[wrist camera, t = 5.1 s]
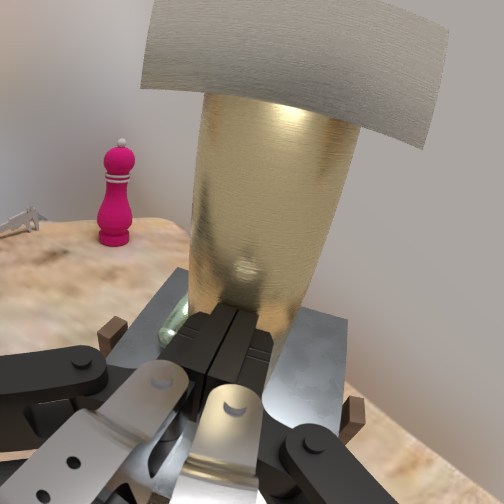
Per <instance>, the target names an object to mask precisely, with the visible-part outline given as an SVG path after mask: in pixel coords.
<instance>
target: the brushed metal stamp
mask: <svg viewBox="0 0 504 504" xmlns="http://www.w3.org/2000/svg"><path fill="white" fill-rule="evenodd" d="M448 36H449V30H448V29H445V28H444V27H442V26H440V25H438V24H435V23H434V22H431V21H429V20H427V19H425V18H423V17H420V16H418V15H416V14H413V13H411V12H409V11H406V10H403V9H401V8H398V7H395V6H393V5H390V4H387V3H384V2H381V1H378V0H155V1H154V5H153V10H152V14H151V19H150V25H149V30H148V36H147V41H146V48H145V54H144V62H143V69H142V77H141V86H140V89H159V90H178V91H192V92H202V93H204V100H203V107H202V114H201V122H200V130H199V139H198V148H197V158H196V168H195V179H194V190H193V203H192V217H191V234H190V253H189V271H188V270H185V269H182V268H179V267H177V268H176V270H175V271H174V272H173V273H172V274H171V276H170V277H169V278H168V279H167V281H166V282H165V283H164V284H163V285H162V287H161V288H160V289H159V290H158V292H157V293H156V294H155V295H154V297H153V298H152V299H151V300H150V302H149V303H148V304H147V305H146V307H145V308H144V309H143V311H142V312H141V313H140V314H139V316H138V317H137V318H136V319H135V321H134V322H133V323H132V325H131V326H130V327H129V329H128V330H127V331H126V332H125V334H124V335H123V336H122V338H121V339H120V340H119V342H118V343H117V344H116V346H115V347H114V348H113V350H112V351H111V352H110V354H109V355H108V356H107V358H106V364H109V365H114V366H118V367H124V368H139V367H140V366H141V365H142V364H144V363H145V362H148V361H152V360H156V359H157V358H158V356H159V355H160V354H161V352H162V351H163V350H164V349H165V347H166V346H167V345H168V343H169V342H170V341H171V339H172V338H173V337H174V335H175V334H177V331H178V330H179V329H180V328H181V327H182V325H183V324H184V322H185V321H186V320H187V318H188V317H189V316H191V315H193V314H195V313H197V312H199V311H201V312H204V313H207V314H211V312H212V311H213V309H214V308H215V306H216V305H217V303H221V304H225V305H228V306H231V307H234V308H238V311H239V309H241V310H244V311H248V312H251V313H255V314H258V315H259V318H258V322H257V326H256V329H260V330H263V331H267V332H270V334H271V336H272V339H273V342H274V345H273V349H272V353H271V358H270V362H269V367H268V372H267V376H266V380H265V385H264V389H263V393H262V403H263V406H264V408H265V410H266V411H267V413H268V414H269V415H270V416H271V417H273V418H274V419H275V420H277V421H279V422H281V423H283V424H285V425H286V426H288V427H290V428H292V429H293V428H294V427H296V426H298V425H300V424H305V423H313V424H318V425H322V426H324V427H326V428H328V429H329V430H331V431H332V432H333V433H334V434H335V435H336V436H337V437H338V436H339V428H340V421H341V412H342V403H343V393H344V381H345V366H346V351H347V349H346V348H347V323H348V320H347V319H343V318H340V317H336V316H332V315H329V314H325V313H322V312H318V311H315V310H311V309H308V308H305V307H301V305H302V302H303V300H304V297H305V295H306V292H307V289H308V287H309V284H310V282H311V279H312V276H313V273H314V271H315V268H316V266H317V263H318V260H319V257H320V255H321V252H322V249H323V246H324V244H325V241H326V238H327V235H328V232H329V229H330V226H331V223H332V220H333V217H334V214H335V211H336V208H337V205H338V202H339V199H340V196H341V193H342V189H343V186H344V183H345V180H346V177H347V174H348V170H349V167H350V163H351V160H352V157H353V153H354V149H355V146H356V142H357V139H358V135H359V132H360V128H361V127H364V128H367V129H370V130H373V131H376V132H379V133H382V134H384V135H387V136H389V137H392V138H395V139H397V140H400V141H402V142H405V143H407V144H410V145H412V146H414V147H417V148H419V149H421V150H422V149H423V147H424V144H425V140H426V137H427V133H428V130H429V127H430V123H431V119H432V116H433V112H434V108H435V104H436V100H437V96H438V91H439V87H440V82H441V78H442V73H443V67H444V62H445V56H446V50H447V43H448ZM199 420H200V416H199V418H198V421H197V423H195V422H193V421H190V420H188V422H187V424H186V426H185V428H184V433H183V439H182V441H181V442H180V444H179V446H178V447H177V449H176V451H175V452H174V454H173V455H172V457H171V459H170V460H169V462H168V463H167V465H166V467H165V468H164V470H163V471H162V473H161V475H160V476H159V478H158V479H157V481H156V483H155V485H154V488H153V492H155V493H157V494H159V495H162V496H164V497H166V498H169V499H171V497H172V494H173V491H174V488H175V485H176V482H177V479H178V476H179V474H180V471H181V468H182V466H183V463H184V461H185V460H186V459H187V457H188V455H189V452H190V449H191V446H192V443H193V440H194V437H195V434H196V431H197V428H198V425H199ZM256 504H267V503H266V502H265V500H264V499H263V497H262V495H261V494H260V492H259V490H258V496H257V503H256Z"/></svg>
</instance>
